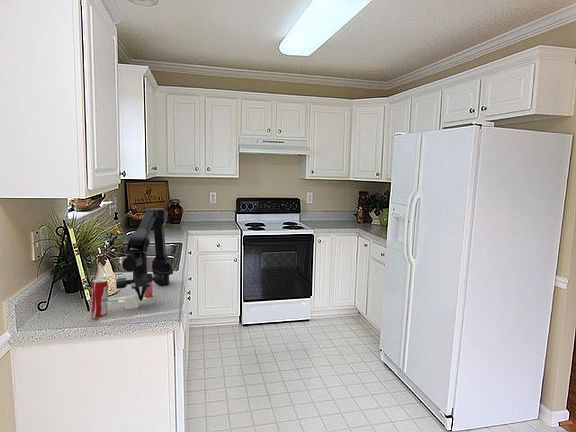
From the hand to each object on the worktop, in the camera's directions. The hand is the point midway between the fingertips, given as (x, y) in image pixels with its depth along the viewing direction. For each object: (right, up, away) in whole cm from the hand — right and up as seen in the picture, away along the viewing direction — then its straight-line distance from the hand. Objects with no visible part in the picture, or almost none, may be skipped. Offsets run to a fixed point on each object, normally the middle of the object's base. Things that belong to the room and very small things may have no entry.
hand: (141, 300), depth 163 cm
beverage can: (-13, -4, -10) cm, 17 cm away
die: (-3, -3, -1) cm, 5 cm away
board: (-8, -2, +8) cm, 11 cm away
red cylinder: (-1, 0, +11) cm, 11 cm away
